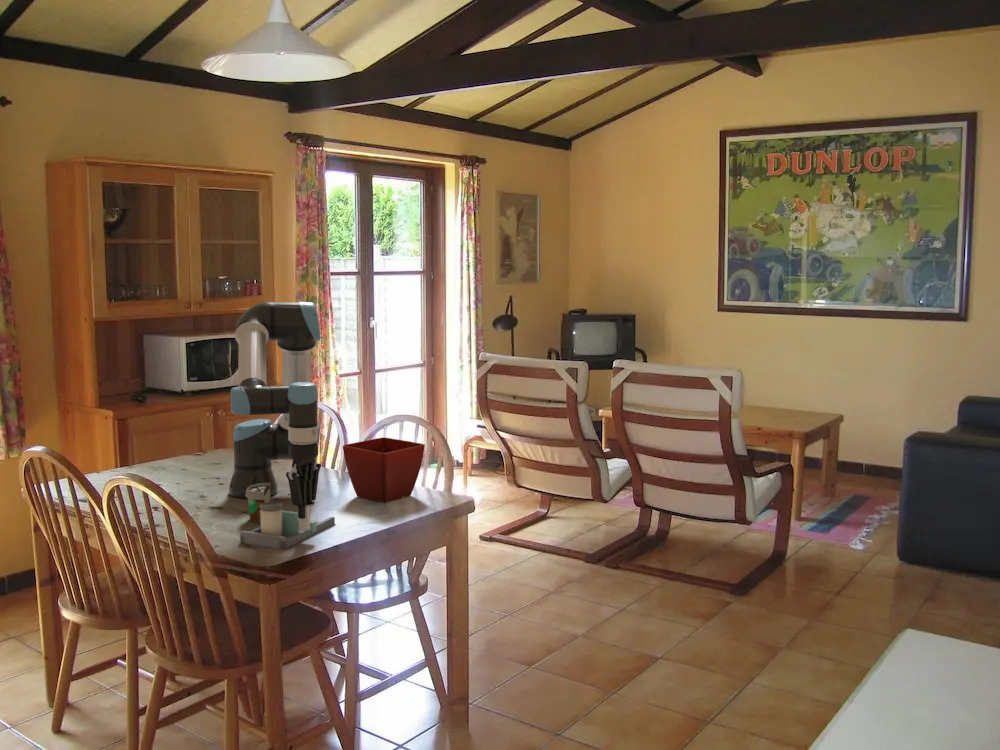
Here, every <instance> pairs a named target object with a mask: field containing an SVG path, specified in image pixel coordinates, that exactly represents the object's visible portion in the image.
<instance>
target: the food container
mask: <svg viewBox="0 0 1000 750" xmlns="http://www.w3.org/2000/svg"><path fill="white" fill-rule="evenodd" d="M270 489H271V485H270V483H260V484H254V485H251V486H249V487H248V488H247V490H246V495H245V496H246V497H247V498H246V499H247V504H248V512H249V513H248V514H249V520H250V522H252V523H254V524H255V523H256V524H261V516H260V504H262V503H266V502H271V496H270Z"/></svg>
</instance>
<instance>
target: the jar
mask: <svg viewBox="0 0 1000 750" xmlns="http://www.w3.org/2000/svg"><path fill="white" fill-rule="evenodd" d="M282 510H283V503H282V502H279V501H270V502H266V503H262V504H260V516H261V523H260V527H261V533H263V534H270V535H277V536H283V535H282Z"/></svg>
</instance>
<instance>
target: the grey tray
mask: <svg viewBox="0 0 1000 750" xmlns="http://www.w3.org/2000/svg"><path fill="white" fill-rule="evenodd" d="M335 519H336V518H335V517H334V516H330V517H328V518H327V517H326V518H325V519H324V520H323V519H322V520H321V521H315V520H314V521H315V522H316V531H314V532H310V531H303V530H299V532H298V533H295V534H293V535H291V536H289V537H287V538H286V537H283V536H277V535H270V534H263V533H261V526H259V527H257V528H254V529H251V530H250V531H248V530H241V531H240V532H239V533H240V536H239V537H240V542H239V544H240V543H241V544H246V545H250V546H251V545H253V546H257V547H264V548H265V547H266V548H272V549H278V550H286V549H288V548H291V547H292V546H294V545H297V544H298V543H301V542H302V541H304V540H307V539H309V538H311V537H313V536H315V535H317V534H319V533H321V532H322V531H326V530H327V529H329V528H331V527H333V526H336V524H335Z"/></svg>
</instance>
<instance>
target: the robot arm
mask: <svg viewBox="0 0 1000 750" xmlns="http://www.w3.org/2000/svg"><path fill="white" fill-rule="evenodd" d="M320 330H321V329H320V323H319V314H318V308H317V305H316V304H315V303H314V302H311V301H309V302H307V301H305V302H304V301H263V302H258V303H257V304H254V305H253V306H251V307H249V308H248V309H247V310H245V311H244V312H243V313H242V314H241V316H240V317H239V319H238V320H237V322H236V326H235V330H234V331H235V332H234V337H235V341H236V342H237V344H238V369H237V370H238V377H237V378H238V381H237V382H238V384H237V385H238V386H234V387H231V389H230V411H231V413H232V414H233V415H241V416H242V415H245V416H250V415H251V416H253V415H254V416H255V415H258V416H259V415H272V414H273V415H281V416H279V417H278V420H277V423H272V421H271V420H270V418H269V419H268V418H257V419H251V420H247V421H243V422H242V421H241V422H240V423H237V424H236V425H235V427H234V429H233V439H232V441H233V465H234V466H233V468H234V469H233V473H232V476H231V479H230V484H229V487H228V491H229V492H228V494H229V495H230V496H231V497H234V498H240V499H248V498H247V497H246V496H245V495H246V490H247V488H248V487H249V486H251V485H254V484H260V483H270V485H271V489H270V497H271V496H273V495H275V494H277V493H278V491H279V490H278V487H279V486H278V482H277V480H276V477H275V475H274V471H273V469H272V465H273V463H272V461H278V460H281V461H283V460H292V463H291V470H290V471H286V473H285V476H286V478H287V480H288V486H289V492H290V497H291V503H292V505H293V506H296V507H297V512H298V519H299V529H300V530H307V531H308V530H310V529H311V525H310V521H311V513H312V512H311V509H312V508H311V506H313V505H315V501H316V499H317V492H318V484H319V474H320V471H321V467H322V464H321V463H317V462H316V457H318V455H319V444H320V433H321V432H320V431H321V430H320V429H321V428H320V423H319V422H318V415H319V413H318V412H319V411H318V408H319V407H318V402H319V401H318V398H319V395H318V386H317V384H316V383H314V382H311V377H312V376H311V375H312V374H311V367H312V366H311V361H312V356H311V355H312V354H311V353H312V350H313V349H314V348H316V345H317V342H318V341H320V340H322V337H321V331H320ZM268 341H274V342H275V341H276V344H277V347H278V348H280V350H281V351H282V352H281V353H282V354H281V355H282V363H281V364H282V365H281V366H282V385H270V386H269V385H268V383H267V382H268V381H267V349H266V344H267V343H268Z"/></svg>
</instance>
